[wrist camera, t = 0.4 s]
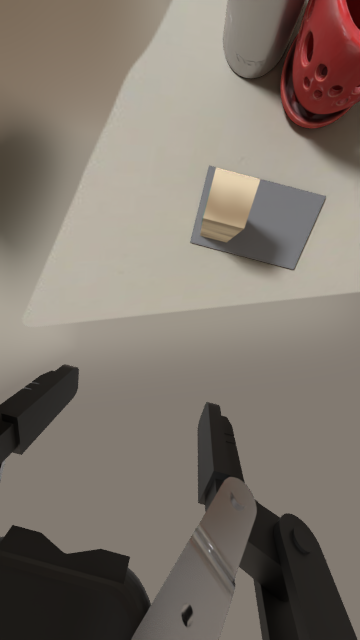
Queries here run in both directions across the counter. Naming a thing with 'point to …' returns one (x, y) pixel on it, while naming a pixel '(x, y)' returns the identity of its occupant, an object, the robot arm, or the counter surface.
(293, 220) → the rubber mat
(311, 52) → the plant pot
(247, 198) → the maple block
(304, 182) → the counter surface
